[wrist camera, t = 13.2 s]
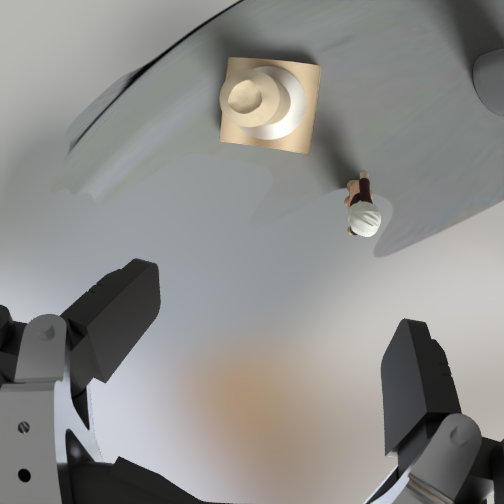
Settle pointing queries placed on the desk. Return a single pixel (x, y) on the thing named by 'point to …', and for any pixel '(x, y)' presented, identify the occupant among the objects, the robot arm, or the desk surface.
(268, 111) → the candle
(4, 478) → the robot arm
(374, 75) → the desk surface
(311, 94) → the candle stand
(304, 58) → the desk surface
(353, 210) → the grandmother figurine
